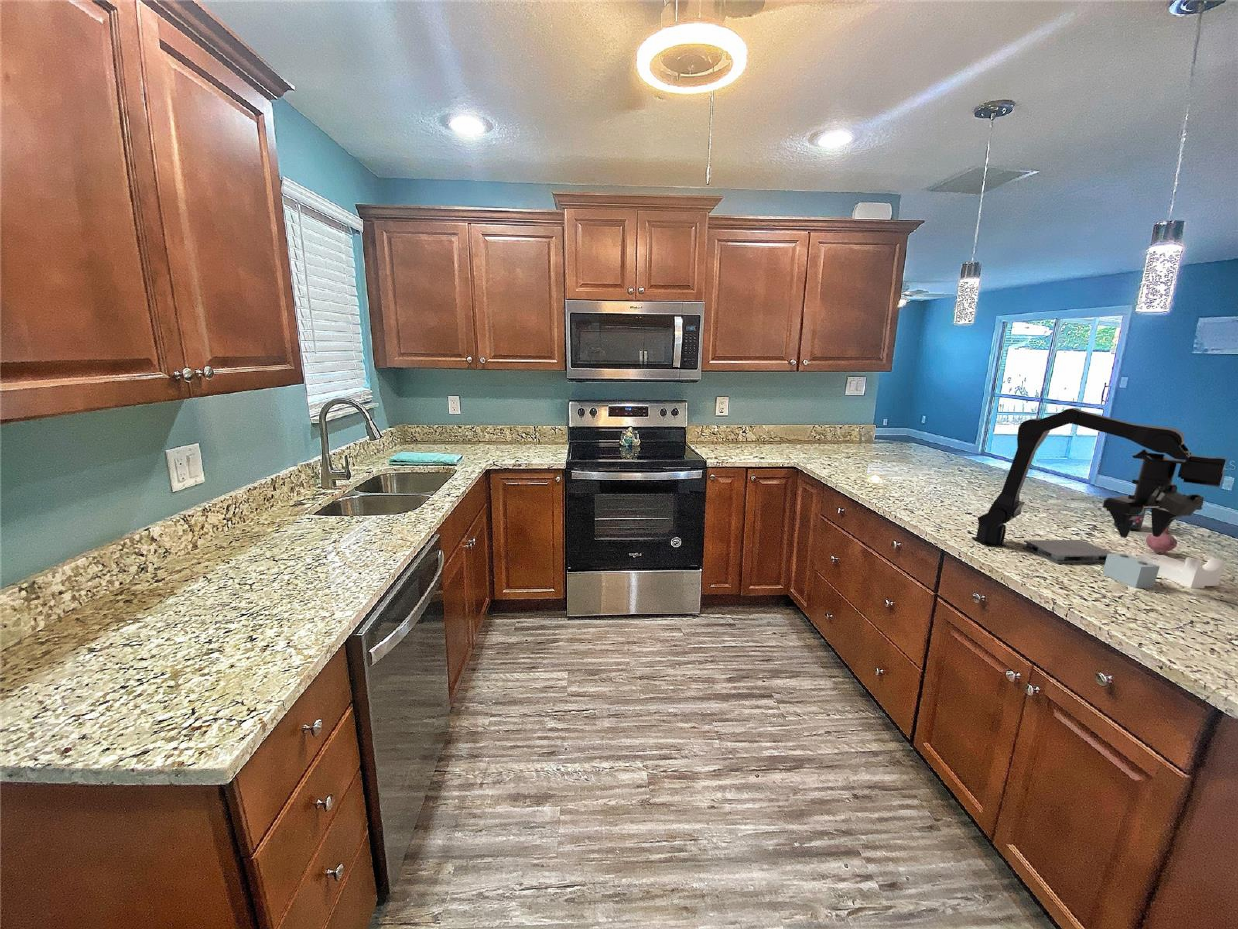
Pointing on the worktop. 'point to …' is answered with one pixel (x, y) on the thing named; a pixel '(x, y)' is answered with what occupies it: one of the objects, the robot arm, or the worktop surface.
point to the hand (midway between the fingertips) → (1139, 536)
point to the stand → (1067, 551)
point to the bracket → (1188, 570)
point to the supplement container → (1138, 521)
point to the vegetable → (1161, 542)
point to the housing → (1131, 570)
